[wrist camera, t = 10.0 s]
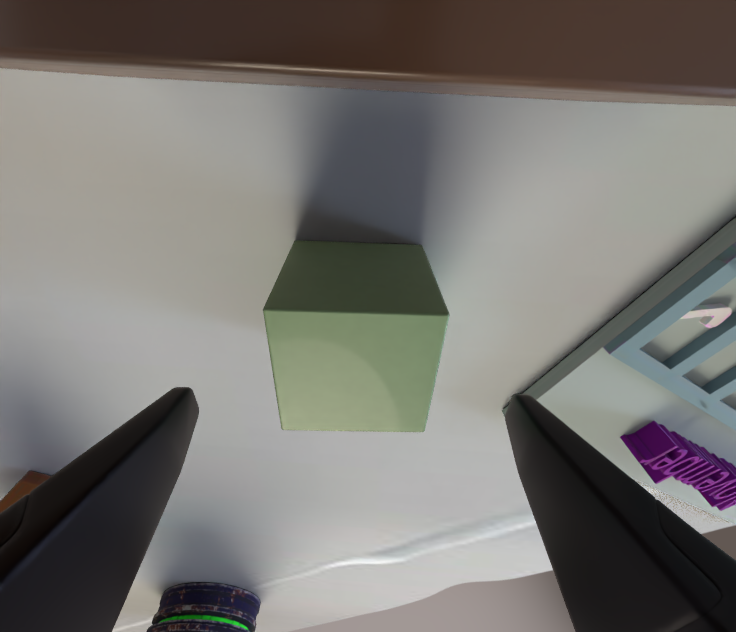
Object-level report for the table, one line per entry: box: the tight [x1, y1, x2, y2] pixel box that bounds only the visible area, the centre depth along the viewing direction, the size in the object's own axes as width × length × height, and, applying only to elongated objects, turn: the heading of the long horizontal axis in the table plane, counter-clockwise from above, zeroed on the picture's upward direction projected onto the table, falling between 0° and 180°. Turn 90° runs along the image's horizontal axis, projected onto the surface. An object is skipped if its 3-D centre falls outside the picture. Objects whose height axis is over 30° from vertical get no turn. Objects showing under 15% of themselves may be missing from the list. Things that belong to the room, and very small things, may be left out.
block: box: [263, 240, 449, 432], centre depth 12 cm, size 5×5×5 cm
